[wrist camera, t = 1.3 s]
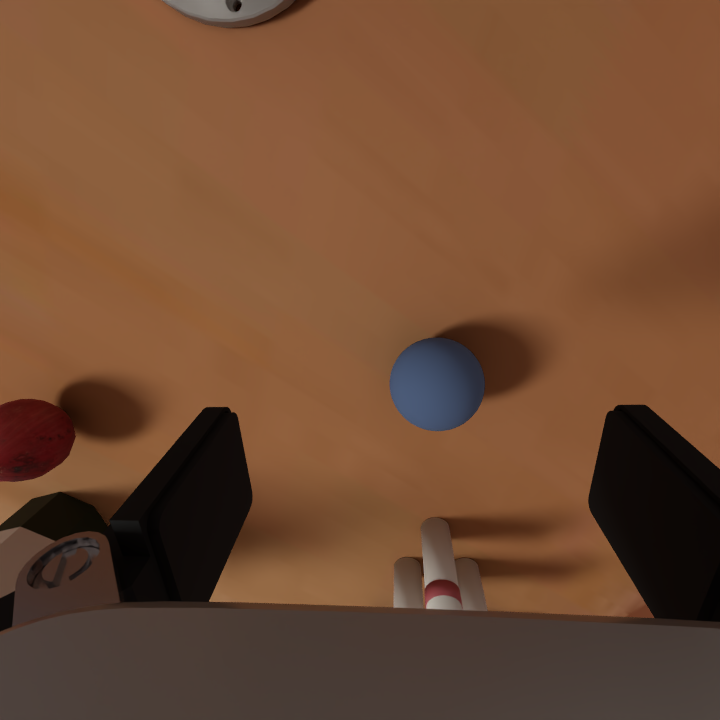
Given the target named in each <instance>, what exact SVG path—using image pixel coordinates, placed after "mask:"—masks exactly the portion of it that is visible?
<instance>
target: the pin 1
mask: <svg viewBox="0 0 720 720" xmlns="http://www.w3.org/2000/svg"><path fill="white" fill-rule="evenodd" d="M394 608H421V609H424V607H423V591H422V576H421V565H420V563H419V562H418V561H417V560H415V559H413V558H410V557H404V558H400V559H399V560H397V561H396V562H395V564H394Z"/></svg>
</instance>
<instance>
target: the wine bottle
mask: <svg viewBox="0 0 720 720" xmlns="http://www.w3.org/2000/svg"><path fill="white" fill-rule="evenodd" d="M107 528H108V526H107V525H106V523H105V522H104V521H103V519H102V518H101V516H100V515H99V513H98V512H97V510H96V509H95V507H94V506H92V505H89V504H87V503H85V502H82V501H80V500H78V499H75V498H73V497H71V496H68V495H66V494H64V493H61V492H58V493H54V494H50V495H46V496H42V497H38V498H34V499H31V500H30V501H29V502H28V503H27V504H25V505H24V506H23V507H22V508H21V509H19V510H18V511H17V512H16V513H15V514H13V515H12V516H11V517H10V518H8V519H7V520H6V521H5V522H4V523H2V524H1V525H0V598H2V597H4V596H6V595H8V594H10V593H12V592H14V591H15V585H16V581H17V578H18V574H19V572H20V571H21V570H22V568H23V567H24V565H25V564H26V563H27V562H28V561H29V560H30V559H31V558H32V557H33V556H34V555H35V554H36V553H38V552H39V551H41V550H42V549H43V548H45V547H46V546H48V545H49V544H51V543H53V542H55V541H57V540H59V539H61V538H63V537H66V536H69V535H72V534H75V533H80V532H87V531H91V532H99V533H101V534H103V532H104V531H105V530H106V529H107Z"/></svg>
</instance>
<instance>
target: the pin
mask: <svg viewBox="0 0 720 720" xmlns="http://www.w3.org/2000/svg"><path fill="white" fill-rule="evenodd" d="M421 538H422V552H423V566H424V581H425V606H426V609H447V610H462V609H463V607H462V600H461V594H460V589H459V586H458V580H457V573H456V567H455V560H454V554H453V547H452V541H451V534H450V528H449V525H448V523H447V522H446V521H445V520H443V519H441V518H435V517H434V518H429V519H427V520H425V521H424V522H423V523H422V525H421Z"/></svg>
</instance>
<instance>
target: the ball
mask: <svg viewBox="0 0 720 720" xmlns="http://www.w3.org/2000/svg"><path fill="white" fill-rule="evenodd" d="M484 389H485V380H484V374H483V371H482V368H481V365H480V363H479V362H478V360H477V359H476V357H475V356H474V354H473V353H472V352H471V351H470V350H469V349H467V348H466V347H465V346H463V345H462V344H460V343H458V342H456V341H453V340H450V339H446V338H428V339H423V340H420V341H418V342H416V343H414V344H412V345H410V346H409V347H408V348H406V349H405V350H404V351H403V352H402V353H401V354H400V356H399V357H398V359H397V360H396V362H395V364H394V366H393V368H392V371H391V376H390V391H391V396H392V399H393V402H394V404H395V406H396V408H397V409H398V411H399V412H400V413H401V414H402V416H403V417H404V418H405V419H406V420H408V421H409V422H410V423H412V424H414V425H416V426H417V427H420V428H422V429H426V430H431V431H445V430H450V429H453V428H456V427H458V426H460V425H462V424H464V423H465V422H466V421H468V420H469V419H470V418H471V417H472V416H473V415H474V414H475V412H476V411H477V410H478V408H479V406H480V404H481V402H482V399H483V395H484Z"/></svg>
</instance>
